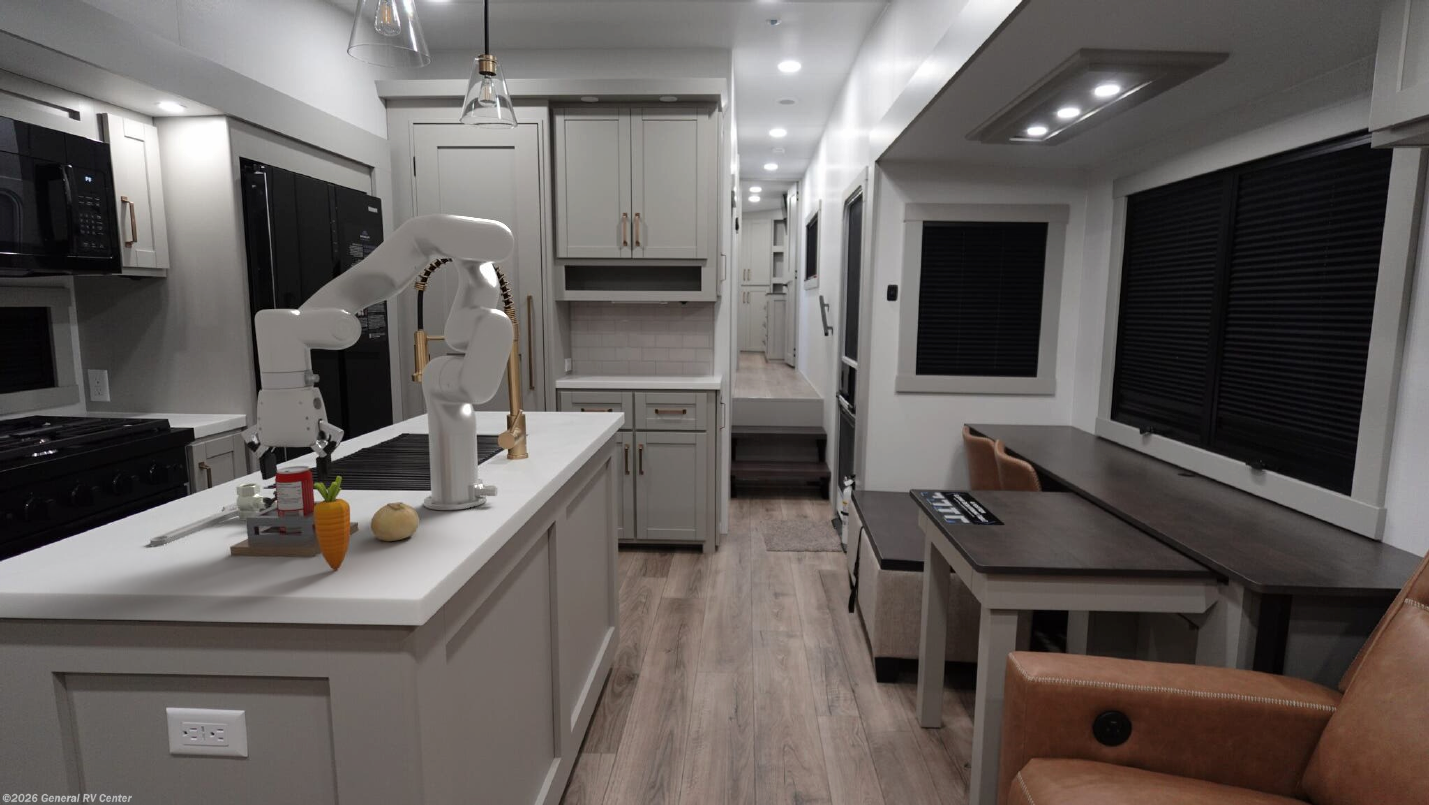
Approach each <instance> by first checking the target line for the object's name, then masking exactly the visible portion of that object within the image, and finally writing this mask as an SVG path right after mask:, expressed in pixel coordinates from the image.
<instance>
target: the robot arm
mask: <svg viewBox="0 0 1429 805" xmlns="http://www.w3.org/2000/svg"><path fill="white" fill-rule="evenodd" d="M515 244H516V242H515V238H514V234H513V232H512V231H511V230H510V228H509V227H508V226H507V225H505V224H504V223H503V222H500V221H497V220H492V219H486V218H476V217H469V216H462V215H457V214H456V215H455V214H449V213H448V214H447V213H433V214H427V215H426V214H425V215H420V216H413V217H412V218H410V219H408V220H406V221H405V222H403V223H402V224H401V225H400V226H399V227H398V228H397V229H395V231H393V233H391V234H389V236H388V237H387V238H386V239H385V240H384V241H382V243H381V244H380V245H378V247H376V248H375V249H373V251H372V252H370V253H369V254H368V255H367V256H366V257H364V259H363V260H361V261H360V262H358V263H356V264H355V265H353V266H351V267H350V268H348V269H347V270H346V271H345V272H343V273H342V274H340V275H338V276H336V277H335V278H333V279H332V280H331V281H329V282H328V283H326V284H325V285H324V286H322V287H320V289H319V290H318V289H317V291H316V292H315V293H314V294H312V295H311V296H310V298H308V299H307V300H306V301H305V302H304V303H303V304H302V305H301V306H299V307H298V309H295V308H275V309H273V308H272V309H261V310H259V311H258V312H256V314H255V316H254V326H255V334H256V337H255V338H256V345H257V354H258V364H259V370H260V381H261V389H260V390H259V392H258V395H257V403H256V404H257V408H256V417H257V418H256V423H255V424H254V425H252V426H250V427H249V428H247V429H245V430H242V432H241V437H242V439H243V440H244V441H245V443H246V444H247V448H248V449H250V450H251V451H252V452H253V453H254V456H255V457H256V458H258V460H259V462H258V463H259V470H260V474H261V479H262V481H267V480H269V479H272V478H276V474H277V470H278V467H277V466H278V464H277V456H276V454H275V453H273V451H274V450H275V448H305V447H306V448H307V447H310V448H311V449H312V450H313V451H314V452H315V453H316V454H317V455H318V457H315V467H316V476H317V479H318V480H321V481H322V480H324V479H327V478H329V477H331V476H332V472H333V463H332V462H333V460H332V454H334V452H335V450H337V448H338V447H339V446H340V444H341V441H342V439H343V437H344V434H345V431H344V430H343V429H342V428H340V427H337V426H335V425H333V424H331V423H329V421H328V417H327V412H326V407H325V403H324V399H323V397H322V393H321V391H320V389H319V388H320V387H314V386H315V383H319V382H320V376H319V374H314V372H313V370H312V359H311V357H312V356H311V350H312V349H323V350H333V351H335V350H337V351H338V350H344V349H348V348H349V347H352V346H353V345H355V344H356V343H357V341H358V340H359V338H360V337H361V334H362V325H361V322H360V320H359V318H358V317H357V316H356V314H357V313H359V312H361V311H362V310H364V309H366V308H368V307H370V306H372V305H375V304H378V303H381V302H384V301H387V300H389V299H392V298H393V297H395V296H397V295H399V294H401V293H402V292H403V291H404V290H406V289H407V287H408V286H409V285H410V284H411V283H412V282H413V281H414V280H415V279H416V278H417V277H418V276H419V275H420V274H421V273H422V272H423V271H424V270H425V269H426V268H428V266H430V264H431V263H432V262H434V261H435V260H441V259H451V261H452V262H453V264H454V265H455V268H456V270H457V275H458V286H457V290H456V294H455V297H454V300H453V303H452V305H451V309H450V312H449V314H448V316H447V321H446V323H445V326H444V330H443V331H444V333H443V338H444V341H445V343H446V344H447V346H448V347H449V348H451V349H452V350H454V351H457V352H460V353H465V355H464V356H461V355H442V356H438V357H435V358H433V359H431V360H429V361H428V363H427V364H426V365H425V366H424V368H423V370H422V373H421V388H422V392H423V397H424V400H425V401H424V402H425V406H426V414H427V423H428V425H427V426H428V450H429V451H428V452H429V468H430V491H431V492H430V493H431V494H430V495H428V496H427V497H425V498H424V499H423V505H424V508H427V509H429V510H435V511H437V510H438V511H456V510H465V509H469V508H470V507H471V508H473V507H474V506H475V507H478V506H480V505H483V504H484V503H485V502H486V501H487V497H497V496H498V493H499V492H498V487H497V486H495V485H485V484H483V483H484V482H483V480H484V479H483V478H480V479H479V471H478V470H479V469H478V467H479V466H478V465H479V464H478V441H477V437H478V436H477V431H478V430H477V418H476V412H475V409H474V406H473V405H481V404H482V405H483V404H485V403H487V402H489V401H490V400H491V399H493V397H494V396H495V395H496V394H497V392H498V389H499V387H500V384H501V383H502V379H503V377H504V373H505V370H506V367H507V364H508V361H509V358H510V354H511V351H512V348H513V345H514V339H515V337H514V336H515V332H514V327H513V323H512V320H511V318H510V317H509V316H508V315H507V314H506V313H505V312H503V311H502V310H500V309H497V306H498V302H499V297H500V292H501V288H500V287H501V286H500V285H501V284H500V281H499V278H498V275H497V272H496V270H495V268H494V266H493V264H500V263H503V262H505V261H507V260H508V259H509V258H510V257H511V256H512V255H513V253H514V250H515ZM256 434H257V436H258V438H257V437H256ZM329 438H330V441H328V440H329ZM475 507H474V508H475ZM471 508H470V509H471Z"/></svg>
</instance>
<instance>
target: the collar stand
mask: <svg viewBox="0 0 1429 805" xmlns="http://www.w3.org/2000/svg"><path fill="white" fill-rule="evenodd" d="M321 501H322V500H321ZM321 501H320V500H317V501H315V500H314V504H315V505H316V504H317V503H319V502H321ZM245 521H246V533H247V538H246V539H244V540H242V541H240V542H238V543H235V544H233V545H231V546H229V550H230V556H234V557H235V556H237V557H238V556H239V557H240V556H242V557H243V556H246V557H249V556H250V557H252V556H253V557H257V556H258V557H266V556H267V557H316V556H318V555H319V554H322V552H321V549H320V546H319V542H318V539H317V535H316V528H315V529H313V527H312V525H313V524H315V520H314V512H312V513H310V514H308V515H306V516H278V508H277V505H275V506H272V507H270V508H268V509H265V510H263V511H261V512H258V513H256V514H254V515H251V516H249V517H247V518H246V520H245ZM260 527H262V528H260ZM279 527H301V533H280V531H279ZM358 531H359V522H354V521H352V522H351V521H350V536H351V535H352V534H355V533H356V532H358Z"/></svg>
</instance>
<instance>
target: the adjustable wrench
mask: <svg viewBox="0 0 1429 805" xmlns="http://www.w3.org/2000/svg"><path fill="white" fill-rule="evenodd" d="M238 511H240V510H239V509H238V507H237V504H236V502H235V503H230V504H228V505H226V506H223V507H222V509H221V511H220V512H217V513H215V514H211V515H210V516H207V517H204V518H201V519H200V520H196V521H193V522H191V523H189V524H186V525H184V526H180V527H178V528H176V529H172V530H170V531H168V532H165V533H163V534H160V535H157V536H154V537H151V538H150V542H149V543H150V546H151V545H161V546H164V544H165V545H168V544H170V542H171V543H173V542H175V540H176V541H177V540H180V538H181V539H184V538H185V536H186V537H188V536H190V534H191V535H193V534H195V533H197V531H198V532H200V531H203V530H206V529H208V528H211V527H212V526H215V525H218V524H220V522H221V523H222V522H224V521H225V522H226V521H227V520H230V519H233V518H236V517H239V514H238ZM172 541H173V542H172ZM167 543H168V544H167Z"/></svg>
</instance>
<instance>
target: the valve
mask: <svg viewBox="0 0 1429 805" xmlns="http://www.w3.org/2000/svg"><path fill="white" fill-rule="evenodd" d="M260 486H261V485H260V484H259V483H255V482H254V483H253V482H251V483H244V484H239V485H237V486H236V488H235V490H236V495H237V497H236V502H235V503H236V504H237V507H238V509H239V510H240V511H238V514H239V516H238V519H240V520H243V521H246V518H247V517H249V516H251V515H254V514H256V513H258V512H261V511H263V510H265V509H268V508H270V507H272V506H275V505H277V497H276V490H275V491H273V492H272V495H273V496H274V497H268V496H262V495H261V494H260V493H261V487H260Z"/></svg>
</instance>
